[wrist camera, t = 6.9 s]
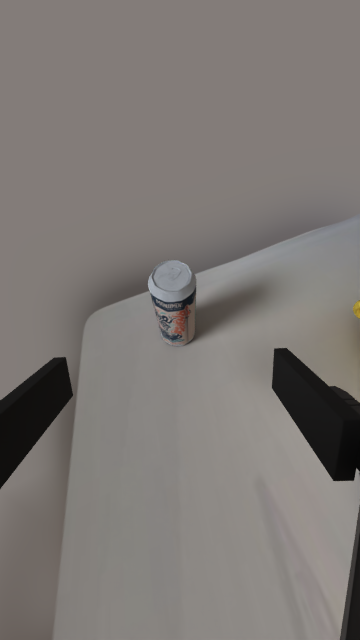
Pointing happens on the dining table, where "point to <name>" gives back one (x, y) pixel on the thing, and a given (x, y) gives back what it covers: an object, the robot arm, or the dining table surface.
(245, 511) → the dining table surface
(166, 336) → the beer can
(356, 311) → the teapot
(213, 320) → the dining table surface
